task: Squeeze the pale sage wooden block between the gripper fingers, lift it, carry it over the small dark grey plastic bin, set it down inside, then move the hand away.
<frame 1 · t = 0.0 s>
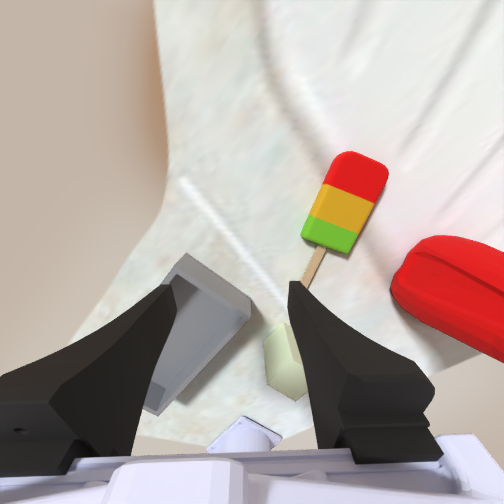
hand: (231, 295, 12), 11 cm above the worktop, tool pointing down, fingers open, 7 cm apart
popsicle: (326, 228, 23), on the worktop
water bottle: (433, 275, 24), on the worktop
bin: (176, 327, 26), on the worktop
sage block: (284, 339, 26), on the worktop
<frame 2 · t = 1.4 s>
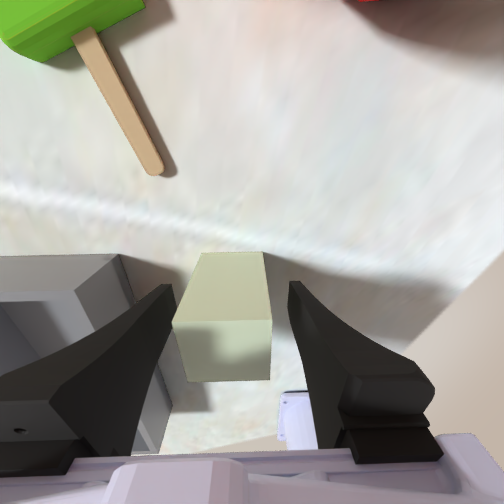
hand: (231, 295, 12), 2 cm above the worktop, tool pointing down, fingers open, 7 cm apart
bin: (97, 349, 17), on the worktop
sage block: (233, 277, 14), on the worktop
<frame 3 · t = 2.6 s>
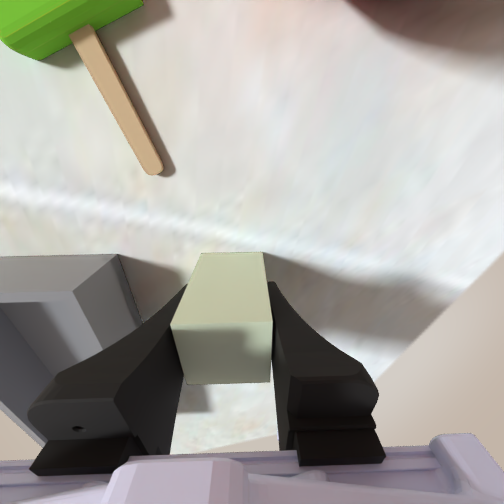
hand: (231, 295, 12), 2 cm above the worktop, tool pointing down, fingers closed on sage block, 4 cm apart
bin: (96, 350, 17), on the worktop
sage block: (233, 277, 14), on the worktop, touching gripper
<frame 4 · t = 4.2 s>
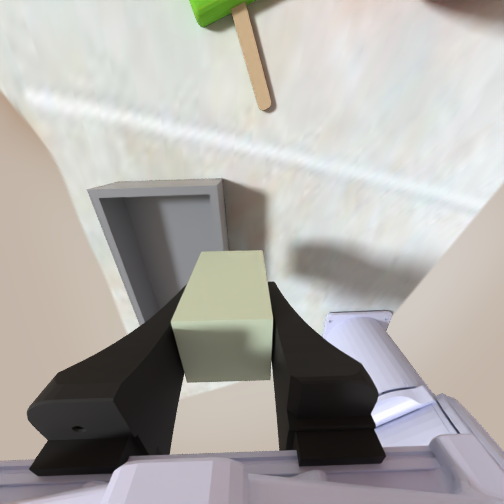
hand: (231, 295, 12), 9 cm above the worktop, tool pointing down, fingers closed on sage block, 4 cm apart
bin: (188, 268, 22), on the worktop
sage block: (233, 276, 14), point 7 cm above the worktop, touching gripper
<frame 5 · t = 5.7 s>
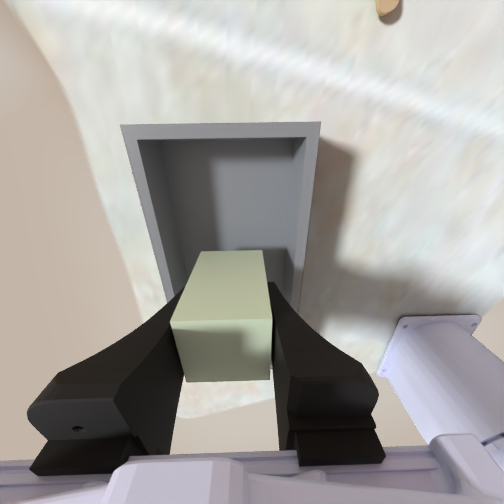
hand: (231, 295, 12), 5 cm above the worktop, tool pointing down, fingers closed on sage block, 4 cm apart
bin: (235, 257, 17), on the worktop
sage block: (233, 276, 14), point 3 cm above the worktop, touching gripper
when the fingers open (5 cm above the worktop, at t = 6.2 s): sage block drops 2 cm, resting on bin.
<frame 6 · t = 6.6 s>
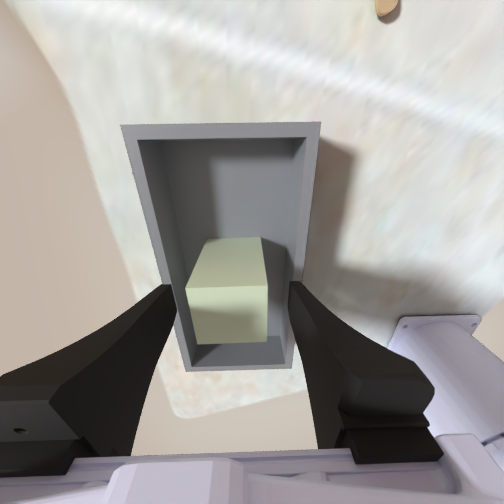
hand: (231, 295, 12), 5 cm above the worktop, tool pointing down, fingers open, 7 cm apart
bin: (235, 257, 17), on the worktop
sage block: (235, 261, 16), point 1 cm above the worktop, touching bin
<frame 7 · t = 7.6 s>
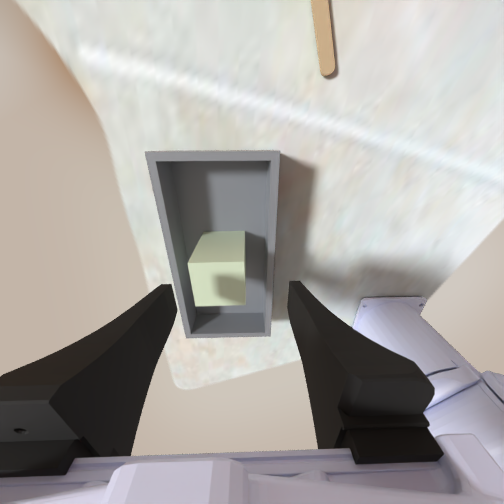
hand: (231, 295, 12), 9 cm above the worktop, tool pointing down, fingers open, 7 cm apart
bin: (226, 247, 21), on the worktop
sage block: (225, 249, 21), point 1 cm above the worktop, touching bin
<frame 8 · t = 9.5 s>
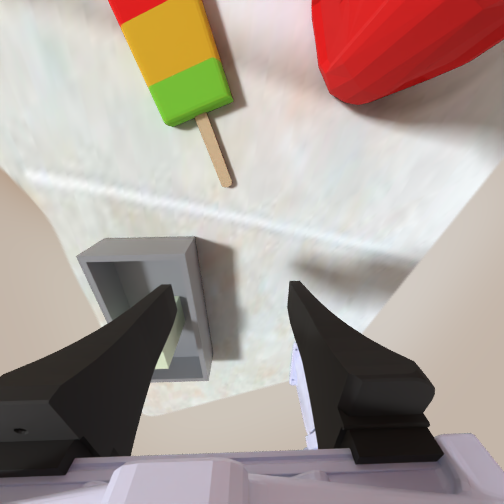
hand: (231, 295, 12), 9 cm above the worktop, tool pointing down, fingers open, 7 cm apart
popsicle: (193, 90, 16), on the worktop
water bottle: (387, 15, 14), on the worktop
bin: (167, 305, 25), on the worktop
sage block: (165, 309, 24), point 1 cm above the worktop, touching bin
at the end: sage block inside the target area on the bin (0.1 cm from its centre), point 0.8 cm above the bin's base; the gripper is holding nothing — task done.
